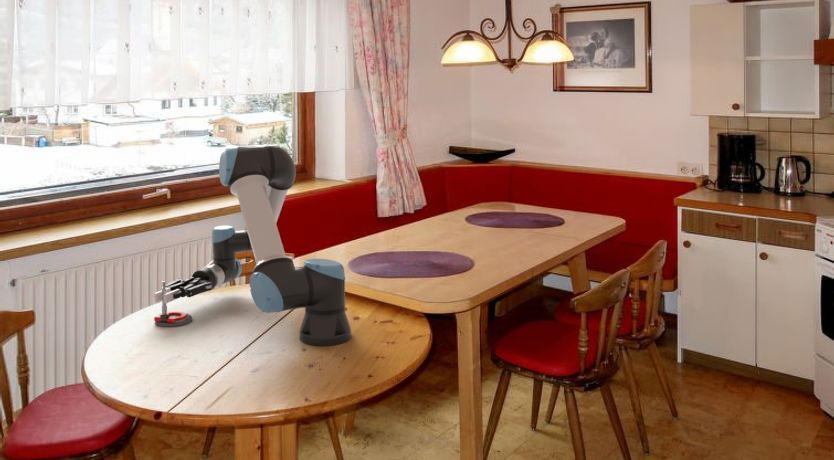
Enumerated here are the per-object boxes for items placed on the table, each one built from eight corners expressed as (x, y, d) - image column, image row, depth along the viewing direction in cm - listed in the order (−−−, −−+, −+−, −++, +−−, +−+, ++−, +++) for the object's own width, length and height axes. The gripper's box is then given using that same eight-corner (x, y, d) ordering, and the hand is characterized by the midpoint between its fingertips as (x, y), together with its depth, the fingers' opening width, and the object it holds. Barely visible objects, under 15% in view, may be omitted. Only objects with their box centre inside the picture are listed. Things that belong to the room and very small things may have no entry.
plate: (185, 327, 226) (185, 324, 226) (149, 326, 226) (149, 324, 226) (196, 315, 237) (196, 312, 236) (162, 315, 237) (162, 312, 236)
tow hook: (168, 313, 236) (151, 321, 228) (167, 274, 234) (149, 280, 225) (191, 316, 234) (175, 324, 226) (191, 276, 232) (174, 283, 223)
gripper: (228, 292, 244) (182, 313, 222) (188, 286, 249) (140, 306, 228) (227, 270, 242) (181, 289, 221) (187, 265, 248) (138, 283, 226)
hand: (160, 298), depth 224 cm, fingers open, 3 cm apart
